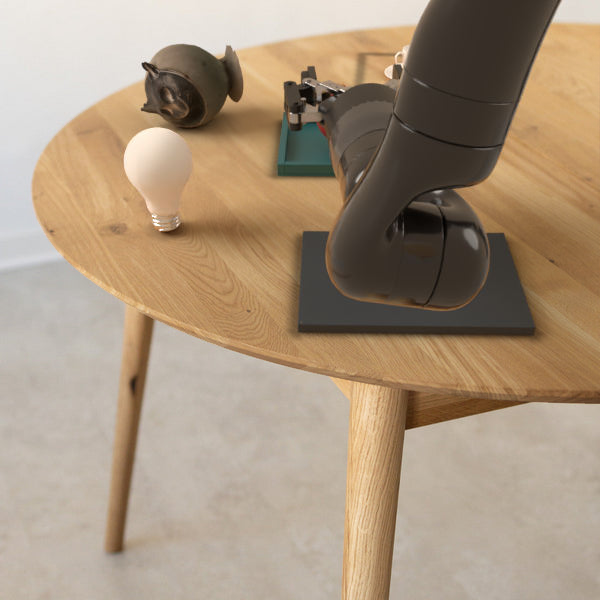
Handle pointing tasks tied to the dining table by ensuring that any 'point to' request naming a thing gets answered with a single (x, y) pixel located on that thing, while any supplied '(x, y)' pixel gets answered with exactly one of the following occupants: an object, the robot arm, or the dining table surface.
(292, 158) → the tray
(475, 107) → the robot arm
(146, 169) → the light bulb
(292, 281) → the dining table surface
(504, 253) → the mat
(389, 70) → the teacup and saucer
